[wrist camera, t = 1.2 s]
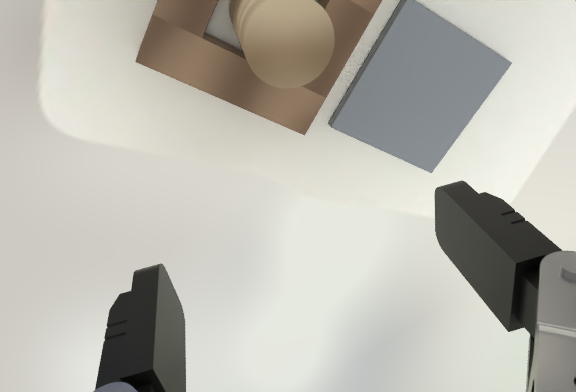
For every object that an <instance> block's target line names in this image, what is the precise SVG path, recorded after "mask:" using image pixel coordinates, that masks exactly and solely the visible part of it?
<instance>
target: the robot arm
mask: <svg viewBox="0 0 576 392" xmlns="http://www.w3.org/2000/svg"><path fill="white" fill-rule="evenodd" d="M435 231H436V236H437V239H438V242H439V244H440V246H441V248H442V250H443V251H444V252H445V254H446V255H447V256H448V257H449V259H450V260H451V261H452V262H453V264H454V265H455V266H456V267H457V268H458V270H459V271H460V272H461V273H462V275H463V276H464V277H465V279H466V280H467V281H468V282H469V283H470V285H471V286H472V287H473V288H474V290H475V291H476V292H477V293H478V295H479V296H480V297H481V298H482V299H483V301H484V302H485V303H486V305H487V306H488V307H489V308H490V310H491V311H492V312H493V313H494V315H495V316H496V317H497V318H498V319H499V321H500V322H501V323H502V325H503V326H504V327H505V328H506V329H507V331H508V332H510V331H514V330H517V329H520V328H524V327H525V329H526V330H527V331H528V332H529V333H530V339H529V351H528V366H527V382H526V392H576V252H575V251H562V250H561V249H560V248H559V247H558V246H556V245H555V244H554V243H553V242H552V241H550V240H549V239H548V238H547V237H546V236H545V235H543V234H542V233H541V232H540V231H539V230H538V229H536V228H535V227H534V226H533V225H532V224H531V223H529V222H528V221H525V218H524V217H522V216H521V215H520V214H519V213H518V212H515V210H514V209H513V208H512V207H511V206H510V205H508V204H507V203H506V202H505V201H504V200H503V199H500V198H498V197H495V196H493V195H491V194H488V193H486V192H484V193H480V194H478V193H477V192H476V191H475V190H474V189H473V188H472V187H470V186H469V185H468V184H467V183H466V182H464V181H459V182H455V183H451V184H448V185H444V186H441V187H437V188H436V190H435ZM185 359H186V358H185V319H184V313H183V309H182V305H181V303H180V300H179V298H178V296H177V293H176V291H175V289H174V287H173V285H172V282H171V280H170V278H169V276H168V273H167V271H166V269H165V267H164V266H163V264H158V265H154V266H151V267H147V268H143V269H140V270H136V271H135V272H134V275H133V282H132V289H131V291H129V292H126V293H122V294H120V295H119V296H118V298H117V299H116V301H115V302H114V304H113V306H112V307H111V309H110V311H109V317H108V322H107V329H106V333H105V341H104V344H103V350H102V355H101V361H100V366H99V371H98V377H97V383H96V388H95V391H94V392H186V360H185Z"/></svg>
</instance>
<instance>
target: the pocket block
mask: <svg viewBox="0 0 576 392" xmlns="http://www.w3.org/2000/svg"><path fill="white" fill-rule="evenodd" d="M217 1H218V0H158V1H157V4H156V7H155V10H154V12H153V15H152V18H151V20H150V23H149V26H148V28H147V31H146V34H145V36H144V39H143V42H142V44H141V47H140V50H139V52H138V55H137V59H136V62H137V63H140V64H142V65H144V66H147V67H149V68H151V69H153V70H156V71H158V72H160V73H163V74H165V75H167V76H170V77H172V78H174V79H176V80H179V81H181V82H183V83H186V84H188V85H190V86H193V87H195V88H197V89H199V90H202V91H204V92H206V93H209V94H211V95H213V96H216V97H218V98H220V99H222V100H225V101H227V102H229V103H232V104H234V105H236V106H239V107H241V108H243V109H245V110H248V111H250V112H252V113H255V114H257V115H259V116H262V117H264V118H266V119H268V120H271V121H273V122H275V123H278V124H280V125H282V126H285V127H287V128H289V129H292V130H294V131H296V132H298V133H301V134H303V135H305V134H306V132H307V130H308V128H309V127H310V125H311V123H312V121H313V120H314V118H315V116H316V115H317V113H318V111H319V109H320V108H321V106H322V104H323V102H324V101H325V99H326V97H327V95H328V94H329V92H330V90H331V88H332V87H333V85H334V83H335V81H336V80H337V78H338V76H339V74H340V73H341V71H342V69H343V67H344V66H345V64H346V62H347V61H348V59H349V57H350V55H351V54H352V52H353V50H354V48H355V47H356V45H357V43H358V41H359V40H360V38H361V36H362V34H363V33H364V31H365V29H366V27H367V26H368V24H369V22H370V20H371V19H372V17H373V15H374V13H375V12H376V10H377V8H378V7H379V5H380V3H381V1H382V0H319V1H318V4H320V5H321V6H322V7H323V8H324V10H325V11H326V12H327V14H328V16H329V17H330V19H331V22H332V25H333V29H334V36H335V43H334V50H333V53H332V56H331V59H330V61H329V63H328V65H327V66H326V68H325V69H324V71H323V72H322V73H321V74H320V75H319V76H318V77H317V78H315V79H314V80H313V81H311V82H310V83H308V84H306V85H303V86H300V87H297V88H289V89H285V88H277V87H274V86H271V85H269V84H267V83H265V82H264V81H262V80H261V79H260V78H258V77H257V76H256V75H255V73H254V72H253V71H252V69H251V68H250V66H249V64H248V62H247V60H246V57H245V55H244V52H243V51H242V50H240V49H237V48H235V47H233V46H231V45H229V44H227V43H225V42H223V41H221V40H219V39H217V38H215V37H213V36H211V35H209V34H207V33H205V30H206V27H207V25H208V23H209V20H210V18H211V15H212V13H213V11H214V8H215V6H216V4H217Z"/></svg>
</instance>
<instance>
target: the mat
mask: <svg viewBox="0 0 576 392" xmlns="http://www.w3.org/2000/svg"><path fill="white" fill-rule="evenodd" d="M511 64H512V63H511V62H510V61H508V60H507V59H505V58H504V57H502V56H500V55H499V54H497V53H496V52H494V51H493V50H491V49H490V48H488V47H486V46H485V45H483V44H482V43H480V42H479V41H477V40H476V39H474V38H472V37H471V36H469V35H468V34H466V33H465V32H463V31H462V30H460V29H458V28H457V27H455V26H454V25H452V24H451V23H449V22H448V21H446V20H444V19H443V18H441V17H440V16H438V15H437V14H435V13H434V12H432V11H430V10H429V9H427V8H426V7H424V6H423V5H421V4H420V3H418V2H416V1H415V0H401V1H400V3H399V4H398V6H397V8H396V9H395V11H394V13H393V14H392V16H391V18H390V19H389V21H388V23H387V25H386V26H385V28H384V30H383V31H382V33H381V35H380V36H379V38H378V40H377V41H376V43H375V45H374V47H373V48H372V50H371V52H370V53H369V55H368V57H367V58H366V60H365V62H364V63H363V65H362V67H361V69H360V70H359V72H358V74H357V75H356V77H355V79H354V80H353V82H352V84H351V85H350V87H349V89H348V91H347V92H346V94H345V96H344V97H343V99H342V101H341V102H340V104H339V106H338V107H337V109H336V111H335V112H334V114H333V116H332V118H331V119H330V121H329V125H330V126H331V128H334V129H336V130H338V131H340V132H342V133H345V134H347V135H349V136H351V137H353V138H356V139H358V140H360V141H362V142H364V143H367V144H369V145H371V146H373V147H375V148H378V149H380V150H382V151H384V152H386V153H389V154H391V155H393V156H395V157H397V158H400V159H402V160H404V161H406V162H408V163H411V164H413V165H415V166H417V167H419V168H422V169H424V170H426V171H428V172H430V173H432V172H433V170H434V169H435V168H436V166H437V165H438V164H439V162H440V161H441V159H442V158H443V157H444V155H445V154H446V153H447V151H448V150H449V149H450V147H451V146H452V144H453V143H454V142H455V140H456V139H457V138H458V136H459V135H460V134H461V132H462V131H463V129H464V128H465V127H466V125H467V124H468V123H469V121H470V120H471V119H472V117H473V116H474V114H475V113H476V112H477V110H478V109H479V108H480V106H481V105H482V103H483V102H484V101H485V99H486V98H487V97H488V95H489V94H490V93H491V91H492V90H493V88H494V87H495V86H496V84H497V83H498V82H499V80H500V79H501V78H502V76H503V75H504V73H505V72H506V71H507V69H508V68H509V67H510V65H511Z"/></svg>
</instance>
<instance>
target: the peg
mask: <svg viewBox="0 0 576 392" xmlns="http://www.w3.org/2000/svg"><path fill="white" fill-rule="evenodd" d="M229 14H230V18H231V21H232V24H233V26H234V29H235V31H236V34H237V36H238V39H239V42H240V44H241V47H242V49H243V52H244V55H245V57H246V60H247V62H248V64H249V66H250V68H251V69H252V71H253V72H254V73H255V75H256V76H257V77H258V78H260V79H261V80H262V81H264V82H265V83H267V84H269V85H271V86H274V87H277V88H285V89H289V88H297V87H300V86H303V85H306V84H308V83H310V82H311V81H313V80H314V79H315V78H317V77H318V76H319V75H320V74H321V73H322V72H323V71H324V69H325V68H326V66H327V65H328V63H329V61H330V59H331V56H332V53H333V50H334V43H335V36H334V29H333V25H332V22H331V19H330V17H329V16H328V14H327V12H326V11H325V10H324V8H323V7H322V6H321V5H320V4H318V3H317V2H316V1H315V0H229Z"/></svg>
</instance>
